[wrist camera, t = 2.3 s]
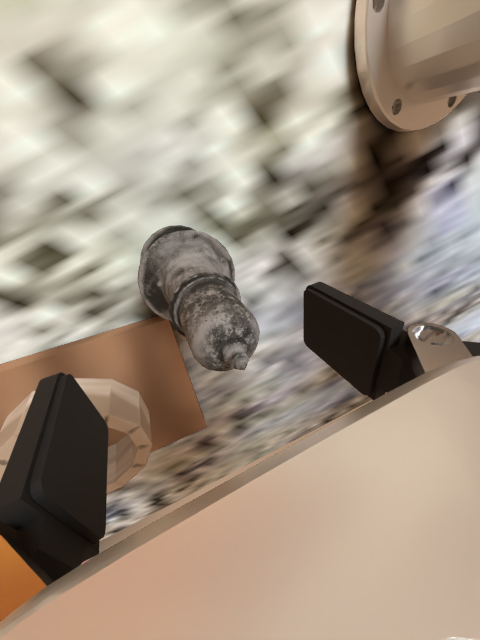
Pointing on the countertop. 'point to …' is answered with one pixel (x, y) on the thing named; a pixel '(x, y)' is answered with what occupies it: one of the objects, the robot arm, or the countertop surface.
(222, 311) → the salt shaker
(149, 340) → the board
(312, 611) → the robot arm
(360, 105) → the countertop surface
